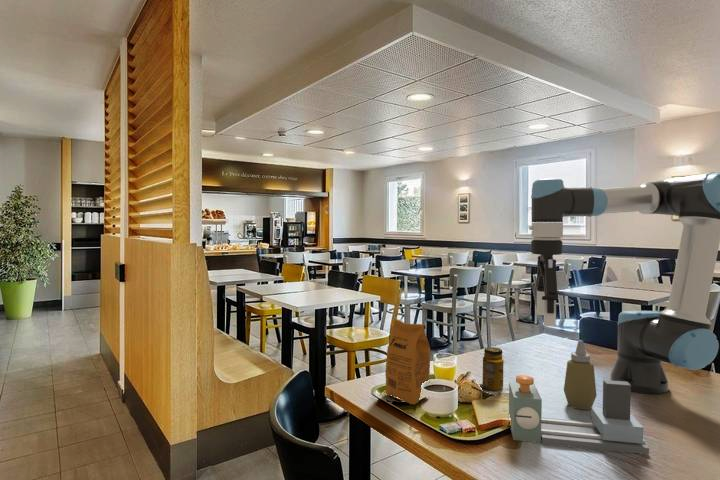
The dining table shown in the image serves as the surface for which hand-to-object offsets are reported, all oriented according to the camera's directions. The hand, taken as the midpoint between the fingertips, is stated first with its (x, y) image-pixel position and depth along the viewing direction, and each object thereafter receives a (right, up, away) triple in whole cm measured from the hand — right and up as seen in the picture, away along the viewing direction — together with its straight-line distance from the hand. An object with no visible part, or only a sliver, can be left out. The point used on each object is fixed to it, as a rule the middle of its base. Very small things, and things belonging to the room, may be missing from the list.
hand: (545, 320), depth 115 cm
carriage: (+10, -23, -14) cm, 29 cm away
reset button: (-9, -15, -10) cm, 20 cm away
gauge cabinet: (-9, -25, -9) cm, 28 cm away
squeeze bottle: (+12, -25, +6) cm, 28 cm away
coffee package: (-35, -25, +12) cm, 44 cm away
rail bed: (+5, -25, -12) cm, 28 cm away
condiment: (-9, -24, +18) cm, 32 cm away
